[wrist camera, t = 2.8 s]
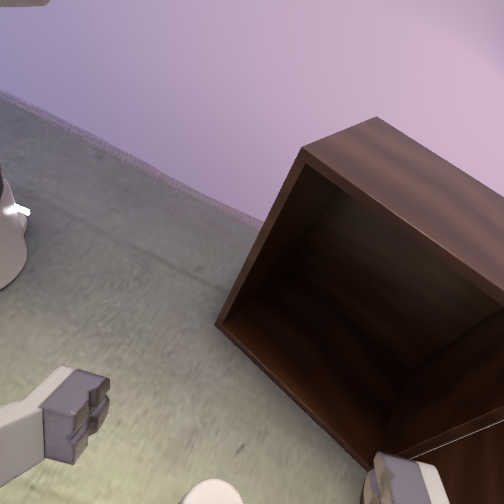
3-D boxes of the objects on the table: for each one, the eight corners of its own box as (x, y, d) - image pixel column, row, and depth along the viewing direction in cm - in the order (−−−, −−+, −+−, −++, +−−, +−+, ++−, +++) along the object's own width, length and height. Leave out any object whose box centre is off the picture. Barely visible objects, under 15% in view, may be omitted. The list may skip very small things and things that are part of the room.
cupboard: (371, 475, 41) (618, 372, 22) (214, 324, 48) (301, 146, 29) (413, 374, 53) (593, 254, 35) (283, 266, 60) (376, 116, 41)
